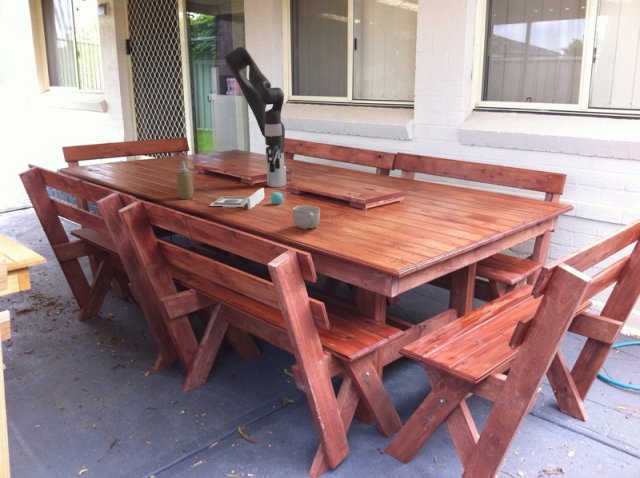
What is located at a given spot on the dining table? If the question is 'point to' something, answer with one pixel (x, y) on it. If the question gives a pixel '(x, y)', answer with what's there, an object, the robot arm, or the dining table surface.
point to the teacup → (306, 216)
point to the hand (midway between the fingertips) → (275, 170)
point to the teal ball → (276, 198)
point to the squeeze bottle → (184, 183)
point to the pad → (230, 201)
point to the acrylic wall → (255, 198)
